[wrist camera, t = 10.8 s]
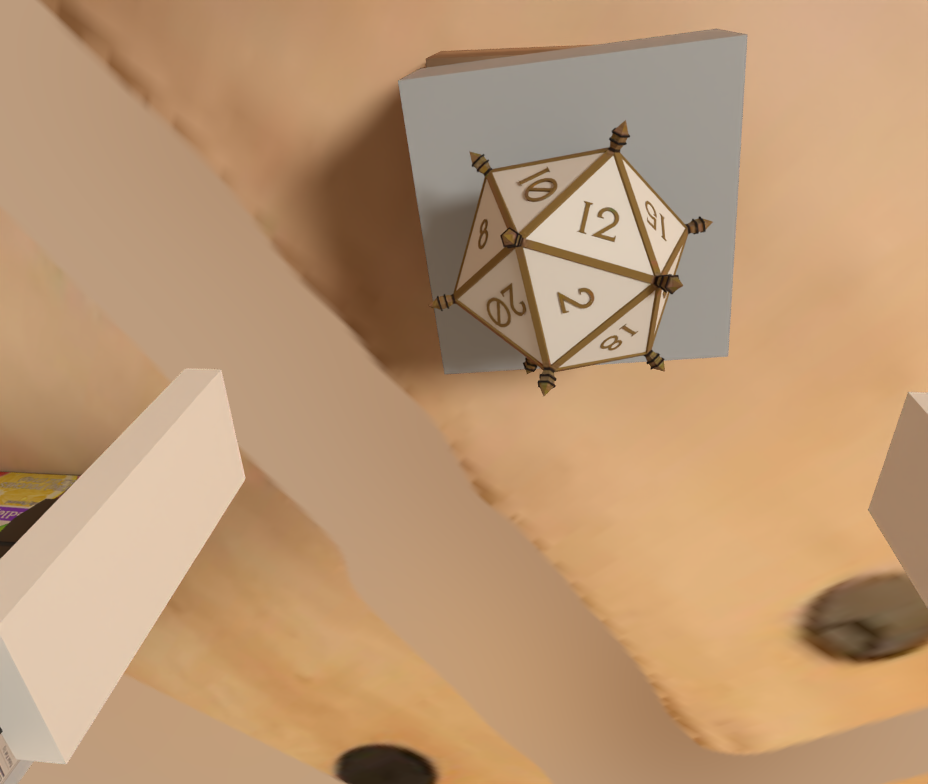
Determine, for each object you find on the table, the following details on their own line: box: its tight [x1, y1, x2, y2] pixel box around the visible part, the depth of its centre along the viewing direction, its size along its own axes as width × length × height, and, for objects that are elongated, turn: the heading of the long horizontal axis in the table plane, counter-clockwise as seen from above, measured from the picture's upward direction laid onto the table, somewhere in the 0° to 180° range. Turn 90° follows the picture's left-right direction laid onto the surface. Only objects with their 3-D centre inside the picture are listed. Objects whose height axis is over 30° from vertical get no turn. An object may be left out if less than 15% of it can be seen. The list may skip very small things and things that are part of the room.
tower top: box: [398, 29, 747, 374], centre depth 29 cm, size 12×12×5 cm
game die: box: [429, 120, 713, 396], centre depth 24 cm, size 9×8×10 cm
